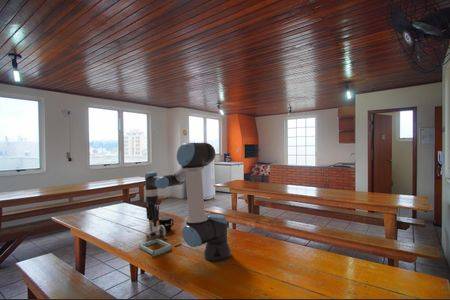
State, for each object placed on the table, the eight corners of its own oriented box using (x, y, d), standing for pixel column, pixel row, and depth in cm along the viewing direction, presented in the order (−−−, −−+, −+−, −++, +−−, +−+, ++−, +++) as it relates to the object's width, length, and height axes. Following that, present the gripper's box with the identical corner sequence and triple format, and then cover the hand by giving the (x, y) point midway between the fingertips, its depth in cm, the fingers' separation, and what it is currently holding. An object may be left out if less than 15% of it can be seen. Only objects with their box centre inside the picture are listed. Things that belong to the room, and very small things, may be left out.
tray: (171, 249, 153) (171, 244, 153) (153, 256, 144) (153, 251, 144) (157, 243, 163) (157, 238, 163) (139, 249, 154) (139, 244, 154)
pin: (156, 237, 167) (156, 220, 167) (152, 239, 165) (151, 221, 164) (154, 236, 169) (153, 219, 169) (150, 238, 167) (149, 220, 167)
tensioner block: (166, 238, 170) (166, 225, 170) (151, 244, 161) (150, 230, 161) (160, 236, 176) (159, 223, 175) (144, 241, 167) (144, 228, 167)
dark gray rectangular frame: (181, 244, 160) (181, 243, 160) (176, 247, 156) (176, 246, 156) (166, 240, 168) (166, 239, 168) (160, 242, 164) (160, 242, 164)
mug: (164, 234, 178) (163, 220, 178) (156, 232, 184) (156, 218, 184) (177, 230, 187) (177, 216, 187) (169, 227, 193) (169, 214, 193)
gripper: (163, 195, 164) (164, 231, 164) (150, 193, 174) (151, 226, 175) (153, 197, 158) (154, 234, 159) (140, 195, 169) (141, 229, 169)
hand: (153, 230), depth 167 cm, fingers closed on pin, 3 cm apart
